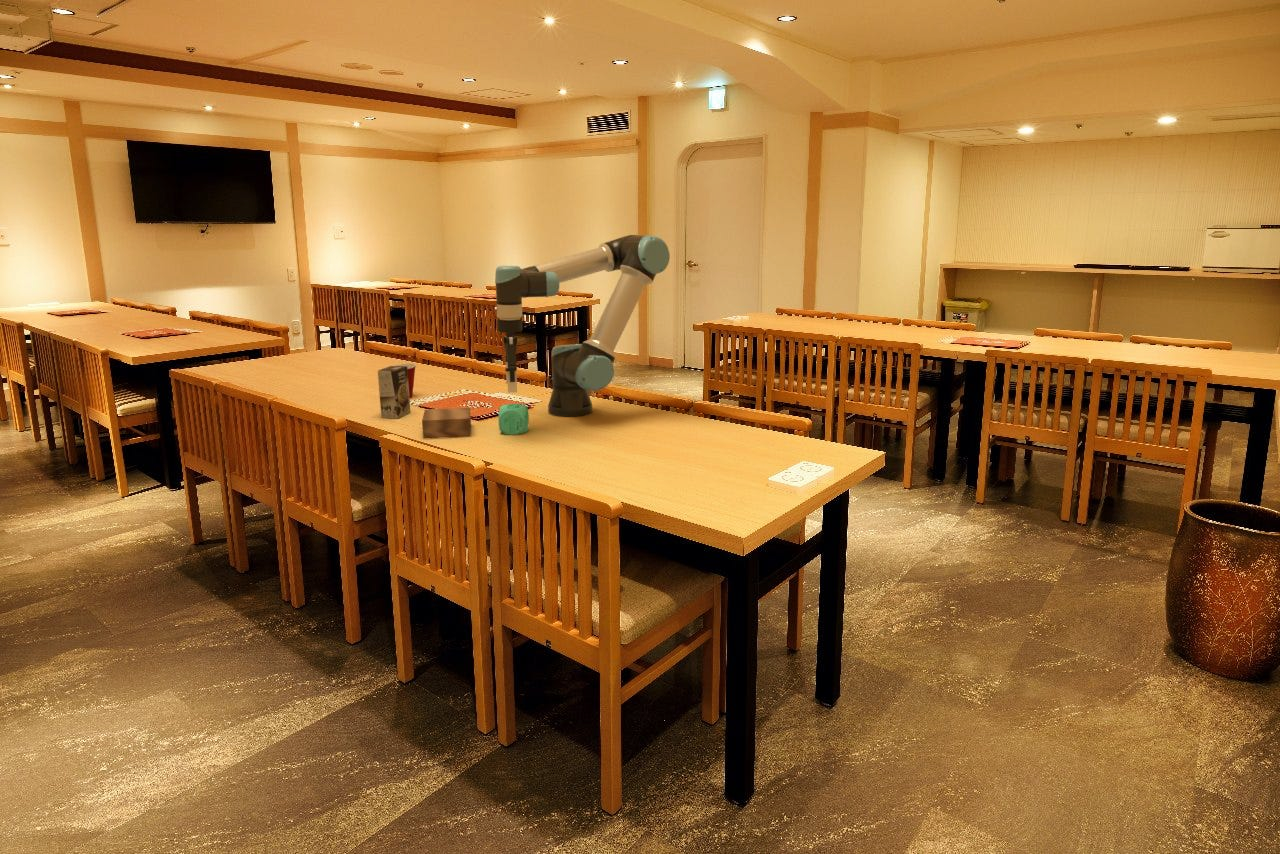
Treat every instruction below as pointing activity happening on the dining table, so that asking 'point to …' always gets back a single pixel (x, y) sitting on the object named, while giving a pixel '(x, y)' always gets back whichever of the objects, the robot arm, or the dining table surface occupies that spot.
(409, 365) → the plastic cup
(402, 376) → the coffee box
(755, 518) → the dining table surface
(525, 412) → the decorative dice
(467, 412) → the walnut block
